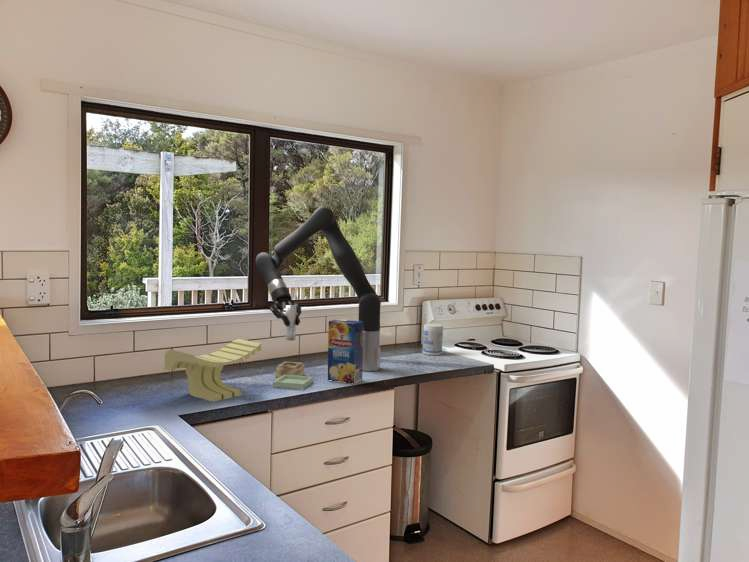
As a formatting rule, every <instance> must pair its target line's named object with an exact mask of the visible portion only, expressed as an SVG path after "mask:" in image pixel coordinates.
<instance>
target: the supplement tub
mask: <svg viewBox="0 0 749 562" xmlns="http://www.w3.org/2000/svg"><path fill="white" fill-rule="evenodd" d="M422 335H423V337H422V354H423V355H426V356H433V357H434V356H441V355H442V351H443V338H444V336H443V335H444V326H443V324H439V323H424V326H423V334H422Z"/></svg>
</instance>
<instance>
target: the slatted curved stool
mask: <svg viewBox="0 0 749 562" xmlns="http://www.w3.org/2000/svg"><path fill="white" fill-rule="evenodd" d="M256 352H262V342H257V341H251V340H247V339H241V338H237V339H235V340H232V341H230V343H228V344H225V345H224V347H221V348H219V349H218V350H216V351H213V352H211V353H208V354H202V355H194V354H192V353H187V352H183V351H182V352H181V351H180V350H179V351H178V350H174V349H168V350H166V352H165V354H164V370H166V371H168V372H169V371H170V372H174V371H176V370H177V369H185V373H186V376H187V380H188V383H187V384H188V393H189V395H190V397H191V396H193V397H195V398H198V397H199V399H201V398H203V399H202V400H204V399H206V400H205V401H207V400H209V401H208V402H211V401H215V402H219V401H218V400H220V401H222V400H227V399H226V398H228V399H231V398H230V397H232V396H236V397H239V396H238V395H240V396H243V395H242V394H243V393H242V390H241V389H238V388H236V387H235V388H234V387H232V386H229V385H227V384H226V383H225V382H223V380H222V379H221V374H222V373H221V372H222V370H223V369H224V366H228V365H233V364H238V363H243V362H244V360H245V359H249V358H250V356H254V355H256ZM232 398H233V397H232Z"/></svg>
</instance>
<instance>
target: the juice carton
mask: <svg viewBox="0 0 749 562" xmlns="http://www.w3.org/2000/svg"><path fill="white" fill-rule="evenodd" d="M363 323H364V321H359V320H351V319H341V318H337V319H336V318H335V319H333V320H328V333H327V334H328V335H327V339H328V341H327V343H328V345H327V381H328V380H332V381H331V382H333V381H340V382H346V383H345V384H348V383H353V384H352V385H355V384H354V383H356V382H358V383H360V382H362V381H363V371H362V365H363ZM361 380H362V381H361ZM359 381H360V382H359ZM340 382H339V383H340ZM356 384H357V383H356Z"/></svg>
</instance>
